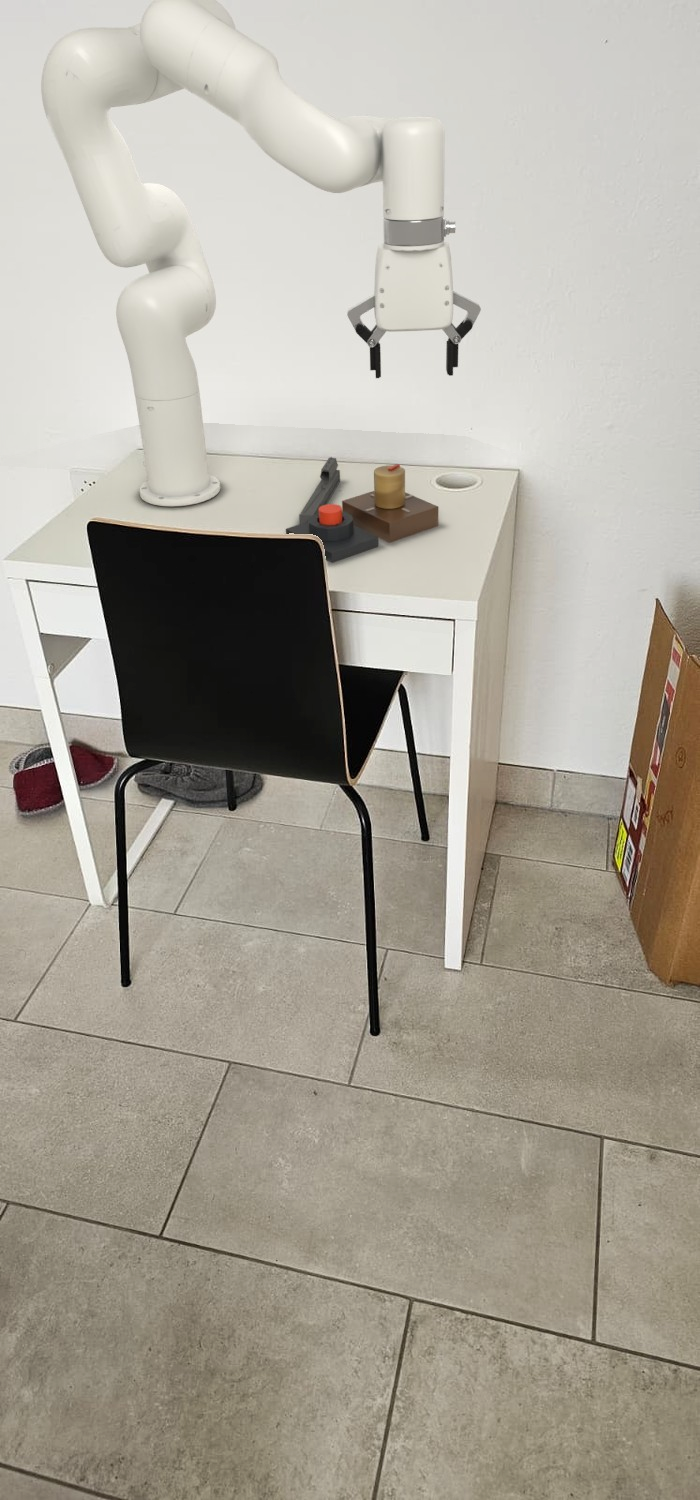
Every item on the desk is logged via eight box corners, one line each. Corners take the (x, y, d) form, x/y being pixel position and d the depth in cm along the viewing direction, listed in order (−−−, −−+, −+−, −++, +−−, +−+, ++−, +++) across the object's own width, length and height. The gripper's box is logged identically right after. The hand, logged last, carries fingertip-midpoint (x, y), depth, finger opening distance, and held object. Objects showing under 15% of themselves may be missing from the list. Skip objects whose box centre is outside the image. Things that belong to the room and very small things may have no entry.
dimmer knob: (393, 511, 143) (392, 476, 140) (368, 504, 145) (367, 470, 142) (411, 501, 146) (411, 466, 143) (386, 495, 148) (386, 461, 145)
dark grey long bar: (317, 530, 147) (315, 502, 144) (299, 529, 147) (297, 501, 145) (344, 482, 161) (343, 456, 159) (327, 482, 162) (326, 456, 159)
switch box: (286, 538, 144) (284, 515, 142) (331, 523, 148) (330, 500, 146) (332, 563, 137) (330, 539, 135) (378, 547, 141) (378, 523, 139)
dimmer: (342, 520, 149) (341, 499, 147) (390, 504, 153) (389, 484, 151) (389, 543, 142) (389, 521, 140) (438, 526, 146) (438, 505, 144)
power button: (314, 521, 141) (314, 508, 140) (333, 515, 142) (332, 502, 141) (328, 528, 139) (327, 514, 138) (347, 522, 140) (346, 508, 139)
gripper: (480, 225, 130) (475, 364, 139) (344, 231, 130) (349, 369, 140) (485, 235, 123) (480, 379, 133) (344, 241, 124) (349, 384, 134)
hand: (413, 374), depth 137 cm, fingers open, 9 cm apart
